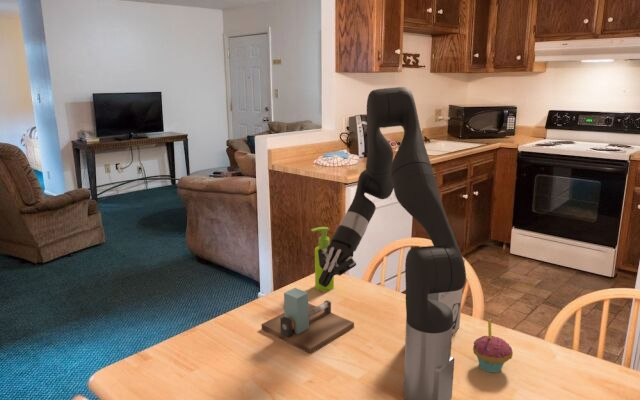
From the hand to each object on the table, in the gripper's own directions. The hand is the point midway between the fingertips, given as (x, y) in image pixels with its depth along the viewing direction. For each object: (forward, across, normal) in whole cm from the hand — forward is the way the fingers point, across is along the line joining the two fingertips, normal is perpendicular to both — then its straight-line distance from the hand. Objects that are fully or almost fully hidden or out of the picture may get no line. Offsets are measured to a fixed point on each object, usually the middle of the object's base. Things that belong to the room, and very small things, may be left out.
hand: (322, 285), depth 132 cm
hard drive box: (-2, +27, +17) cm, 32 cm away
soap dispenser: (-3, -14, +18) cm, 23 cm away
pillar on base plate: (+12, 0, +3) cm, 12 cm away
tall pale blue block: (+13, 0, -1) cm, 13 cm away
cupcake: (+1, +44, +14) cm, 46 cm away
